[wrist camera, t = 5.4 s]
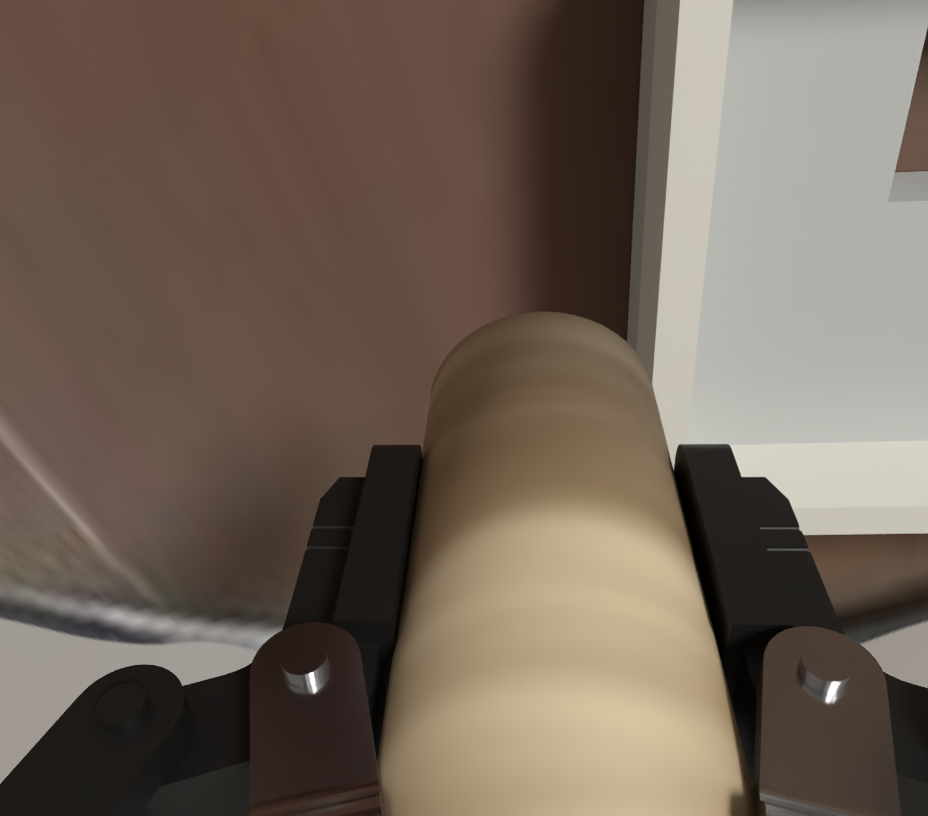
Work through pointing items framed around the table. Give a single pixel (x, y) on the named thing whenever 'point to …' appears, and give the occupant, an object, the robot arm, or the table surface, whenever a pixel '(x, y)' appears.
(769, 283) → the tray
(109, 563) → the table surface
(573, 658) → the peg
